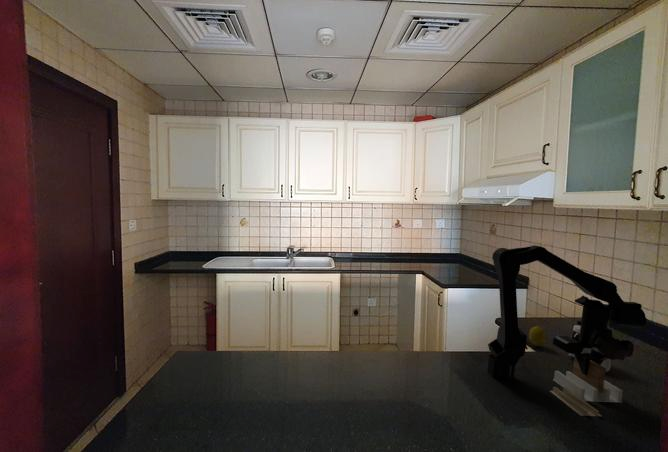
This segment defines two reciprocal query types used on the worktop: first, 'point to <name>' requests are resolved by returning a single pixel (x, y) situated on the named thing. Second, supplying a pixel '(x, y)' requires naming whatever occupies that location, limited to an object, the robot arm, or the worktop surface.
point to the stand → (575, 402)
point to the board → (591, 374)
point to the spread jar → (576, 329)
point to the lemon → (537, 336)
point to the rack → (588, 388)
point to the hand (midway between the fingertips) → (587, 374)
